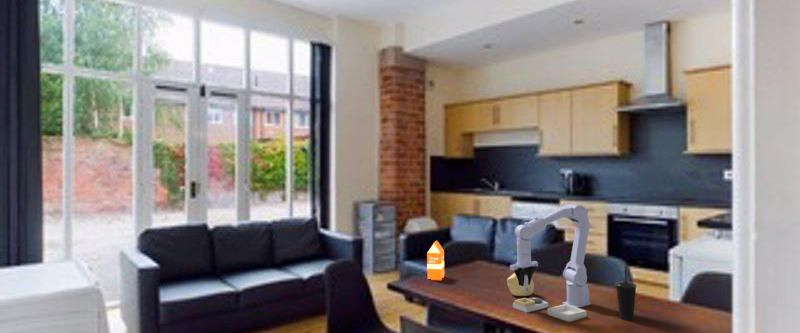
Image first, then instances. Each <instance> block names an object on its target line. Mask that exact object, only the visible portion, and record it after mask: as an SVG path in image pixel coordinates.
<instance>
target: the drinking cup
mask: <svg viewBox="0 0 800 333" xmlns="http://www.w3.org/2000/svg"><path fill="white" fill-rule="evenodd" d="M627 270H628V269H627V268H625V267H624V280H621V281H617V282H616V283H615V284H614V285H615V286H616V295H617V305H618V312H619V319H621V320H623V321H633V320H634V313H635V304H636V289H637V284H636V283H634V282H631V281H628V273H627Z"/></svg>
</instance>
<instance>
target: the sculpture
mask: <svg viewBox="0 0 800 333" xmlns="http://www.w3.org/2000/svg"><path fill="white" fill-rule="evenodd" d="M506 282H507V283H506V284H507V287H508V289H509V291H510V293H511V294H512V295H513V296H516V297H529V296H531V295H533V292H534V290H535V284H534V280H533V278H531V282H530V285H528V291H527V292H524V291H521V286H520V285H519V283H518V279H517V276H516V274H515V272H513V273H512V274H511V275H510V276H509V277H508V278H507V279H506Z"/></svg>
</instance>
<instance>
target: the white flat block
mask: <svg viewBox="0 0 800 333" xmlns="http://www.w3.org/2000/svg"><path fill="white" fill-rule="evenodd" d="M512 308H513V309H516V310H519V311H521V312H524V313H530V312H535V311H538V310H543V309H548V308H549V302H548V301H545V300H543V299H542V298H540V297H534V296H532V297H529V298H526V297H523V298H518V299H514V302H513V303H512Z"/></svg>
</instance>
